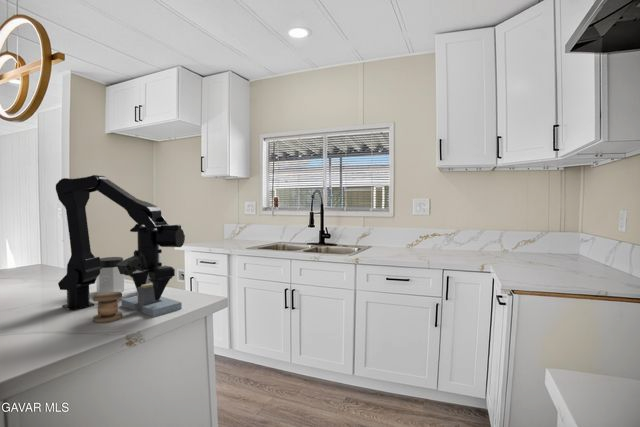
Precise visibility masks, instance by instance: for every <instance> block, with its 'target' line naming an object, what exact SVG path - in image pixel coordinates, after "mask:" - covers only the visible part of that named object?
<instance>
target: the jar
mask: <svg viewBox="0 0 640 427" xmlns="http://www.w3.org/2000/svg"><path fill="white" fill-rule="evenodd" d="M123 260H124V257H122V256H108V257H107V256H106V257H100V266H101V268H102V269H100V274H99V275H98V277H97V278H96V281H95V282H96V293H97V294H101V293H106V292H121V293H122V292H125V275H124V274H120V272H119V270H118V267H117V265H116V264H117V263H119V262H121V261H123Z"/></svg>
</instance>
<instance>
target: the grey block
mask: <svg viewBox="0 0 640 427" xmlns="http://www.w3.org/2000/svg"><path fill="white" fill-rule="evenodd" d="M137 296H138V309H137V311H139V312H142V306H145V305H149V304H153V303H157V302H159V300H155V296H154V288H153V283H148V284H144V285H141V287H138V292H137Z"/></svg>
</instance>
